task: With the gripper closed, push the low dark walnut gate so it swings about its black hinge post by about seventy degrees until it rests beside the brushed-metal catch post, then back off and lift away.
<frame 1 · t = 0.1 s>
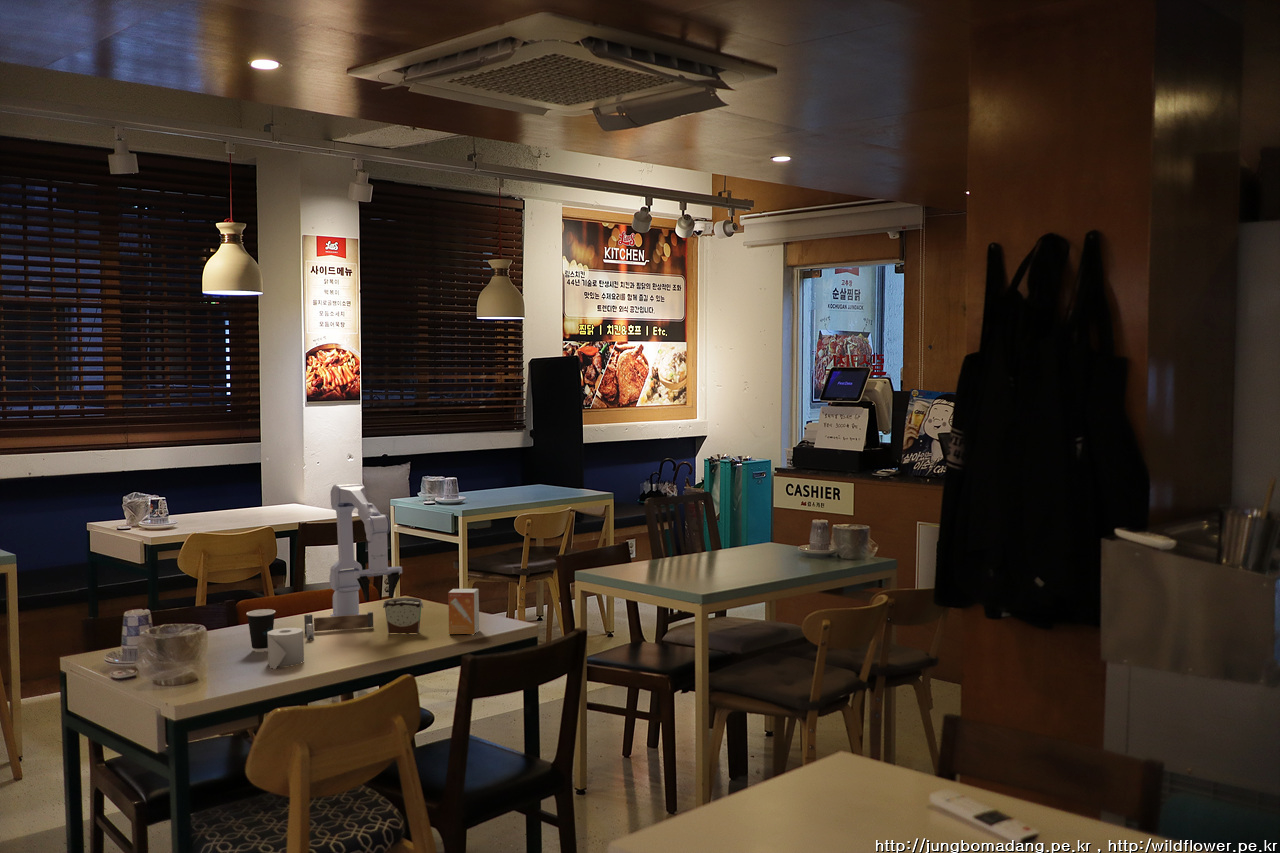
hand: (379, 599, 333), 10 cm above the table, tool pointing down, fingers open, 7 cm apart
food container: (406, 632, 332), on the table
small box: (464, 633, 329), on the table
dixie cup: (262, 650, 312), on the table
gate: (343, 621, 336), point 3 cm above the table, hinge at 0.0°
toilet tissue: (284, 664, 296), on the table
hinge post: (308, 633, 333), on the table
catch post: (310, 639, 325), on the table
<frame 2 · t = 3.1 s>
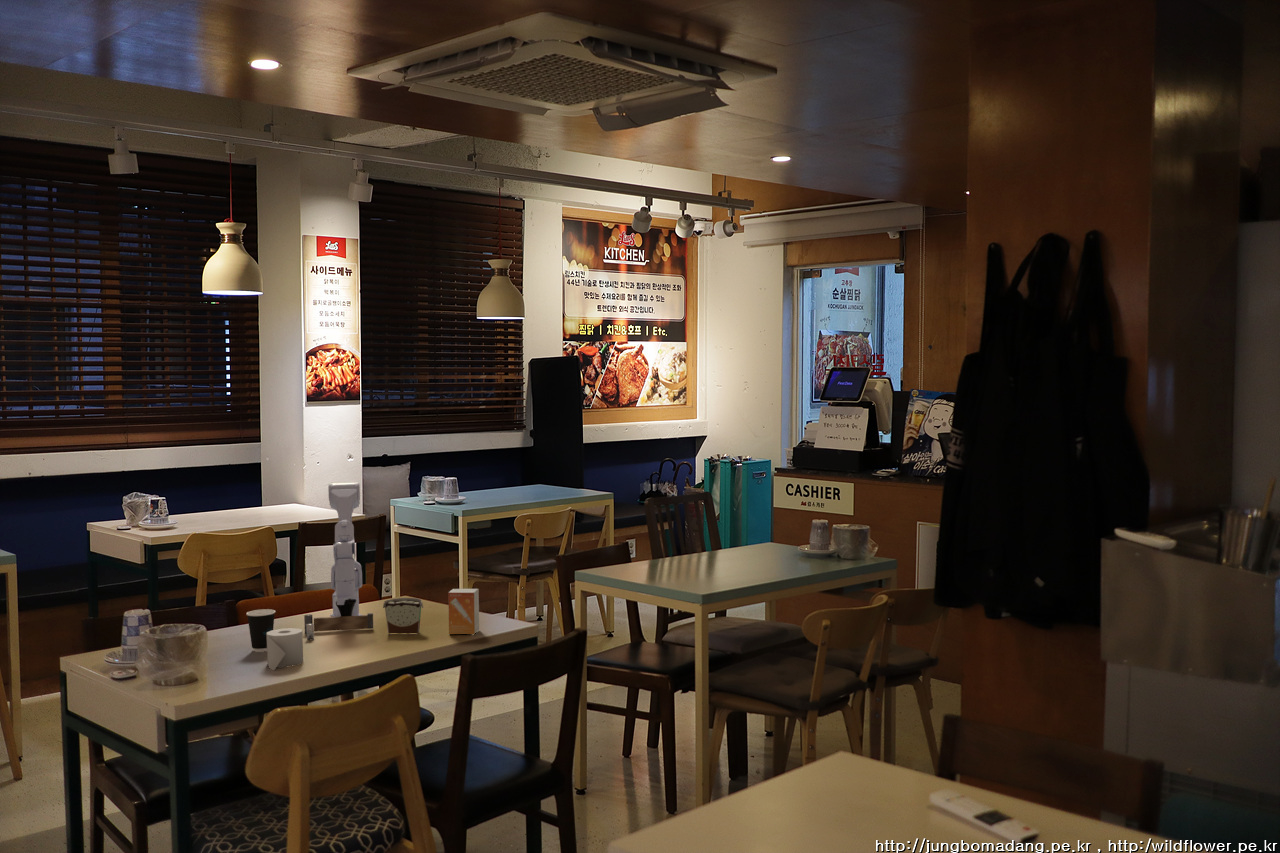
hand: (346, 623, 337), 2 cm above the table, tool pointing down, fingers closed
gate: (343, 622, 335), point 3 cm above the table, hinge at 5.7°, touching gripper
everything else where it was.
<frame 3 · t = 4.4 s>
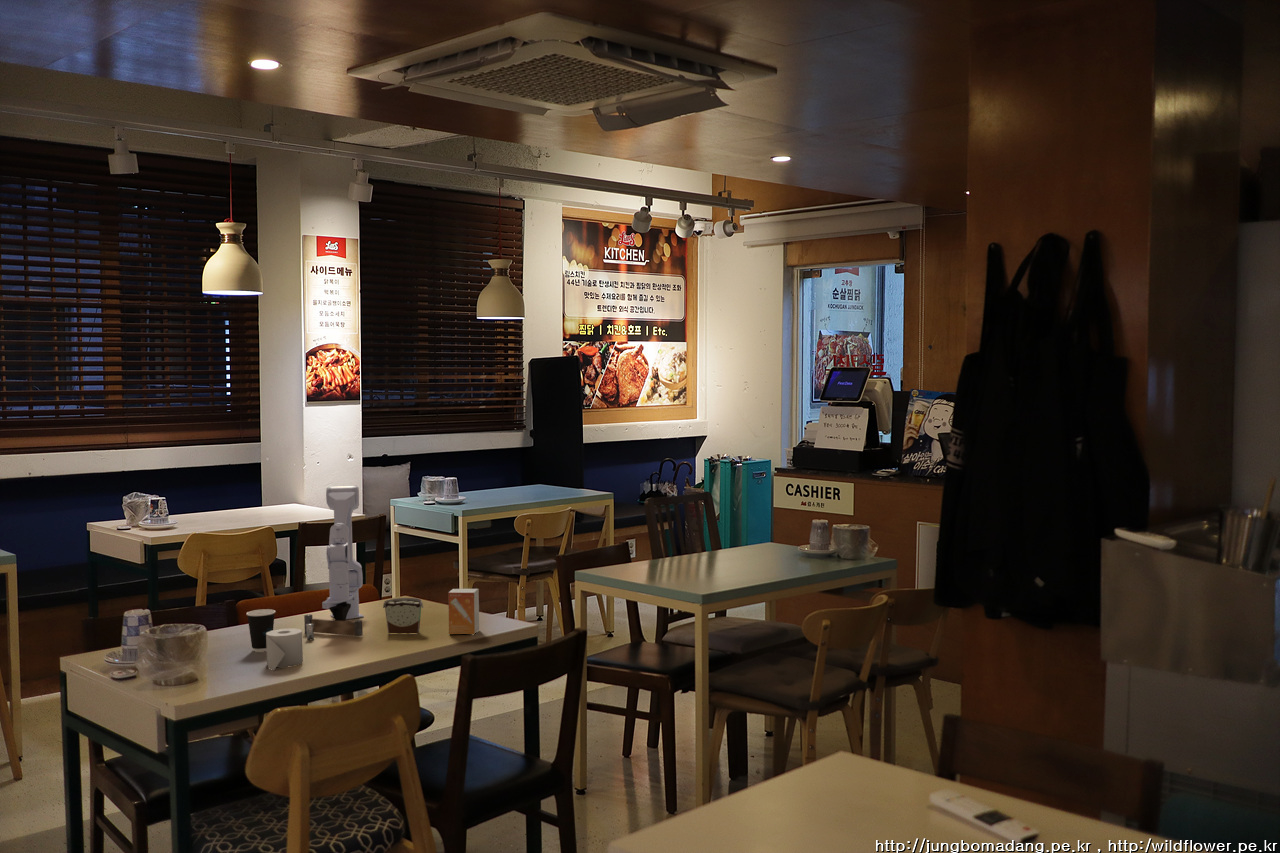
hand: (340, 627, 331), 2 cm above the table, tool pointing down, fingers closed
gate: (336, 626, 329), point 3 cm above the table, hinge at 37.8°, touching gripper
everything else where it was.
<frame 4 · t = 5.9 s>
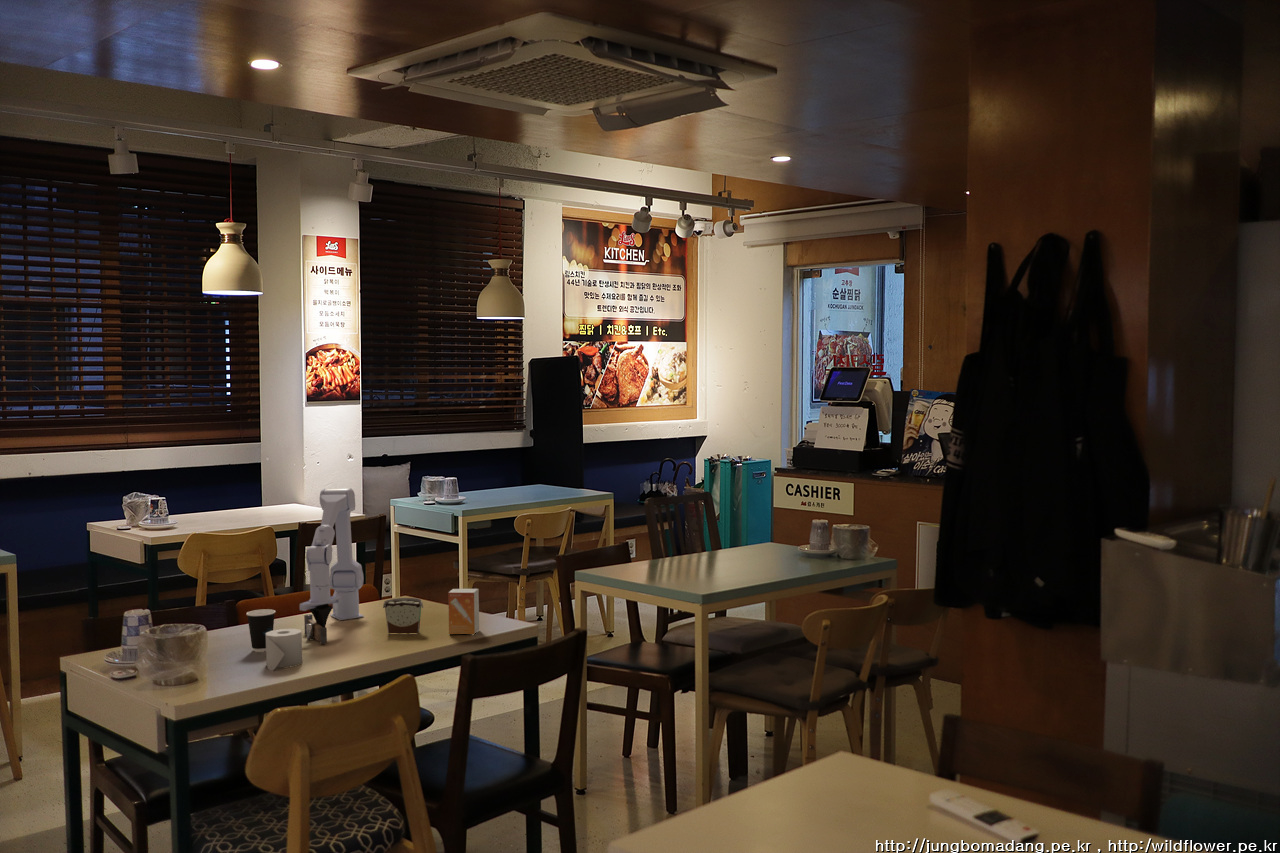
hand: (321, 630, 327), 2 cm above the table, tool pointing down, fingers closed
gate: (316, 630, 324), point 3 cm above the table, hinge at 76.0°, touching catch post, gripper
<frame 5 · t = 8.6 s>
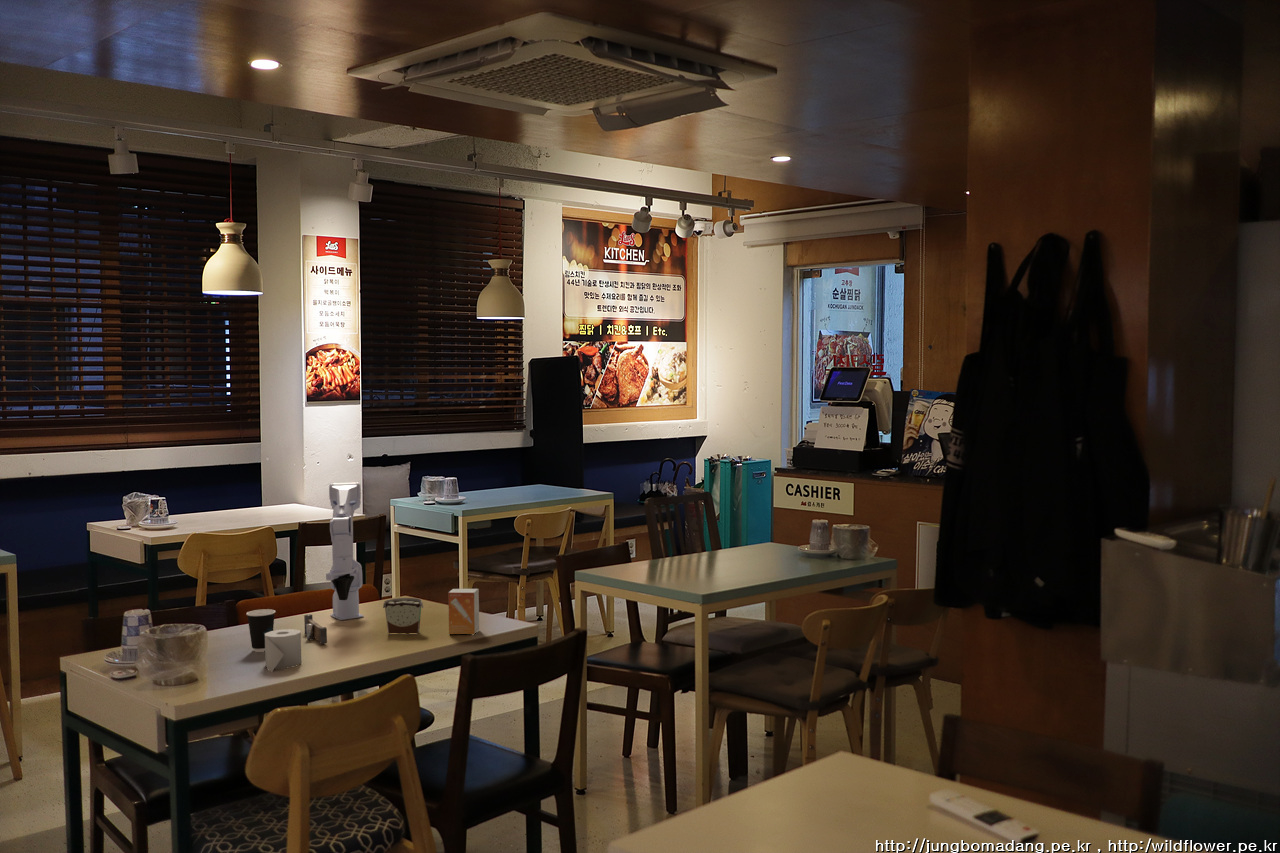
hand: (343, 599, 336), 9 cm above the table, tool pointing down, fingers closed
gate: (316, 630, 324), point 3 cm above the table, hinge at 76.0°, touching catch post
at the end: gate at +76° (first picture: +0°); food container moved 0.2 cm from its start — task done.
